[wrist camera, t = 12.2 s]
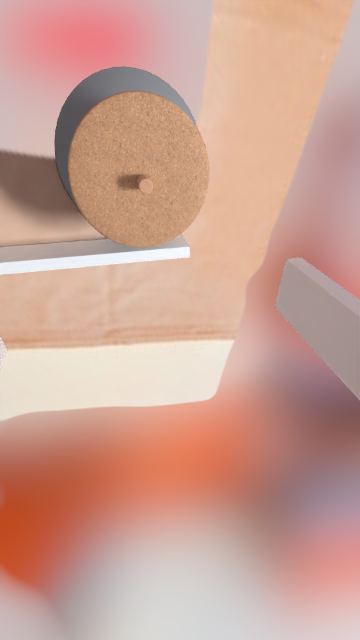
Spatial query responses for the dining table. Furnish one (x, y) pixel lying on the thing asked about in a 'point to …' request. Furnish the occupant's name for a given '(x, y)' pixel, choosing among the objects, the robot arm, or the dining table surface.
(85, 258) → the low wall
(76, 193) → the lidded jar
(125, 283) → the dining table surface
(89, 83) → the gray round disc
